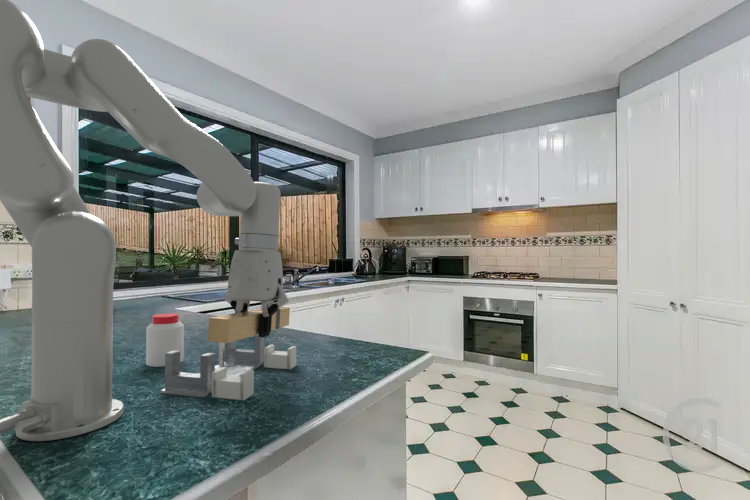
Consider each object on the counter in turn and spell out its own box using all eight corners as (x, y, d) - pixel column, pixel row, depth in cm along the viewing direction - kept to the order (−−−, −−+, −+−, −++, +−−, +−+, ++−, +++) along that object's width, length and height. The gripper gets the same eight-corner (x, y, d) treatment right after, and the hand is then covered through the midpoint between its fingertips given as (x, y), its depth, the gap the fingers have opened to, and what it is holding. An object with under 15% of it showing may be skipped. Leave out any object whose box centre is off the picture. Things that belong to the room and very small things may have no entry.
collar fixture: (203, 397, 66) (204, 346, 66) (160, 393, 68) (161, 343, 68) (266, 362, 88) (267, 324, 88) (232, 360, 90) (232, 322, 90)
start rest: (244, 400, 65) (244, 374, 65) (211, 396, 66) (212, 372, 66) (296, 365, 85) (296, 346, 86) (270, 363, 87) (270, 344, 87)
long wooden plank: (228, 343, 64) (229, 319, 64) (207, 341, 65) (208, 317, 65) (289, 325, 86) (290, 307, 86) (272, 323, 87) (273, 306, 87)
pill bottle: (154, 369, 83) (155, 319, 83) (140, 362, 87) (140, 315, 88) (189, 361, 89) (190, 314, 89) (174, 355, 94) (174, 311, 94)
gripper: (210, 241, 74) (204, 335, 73) (288, 244, 71) (283, 342, 70) (233, 244, 82) (228, 329, 81) (304, 246, 78) (300, 335, 77)
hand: (253, 334), depth 75 cm, fingers closed on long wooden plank, 4 cm apart
